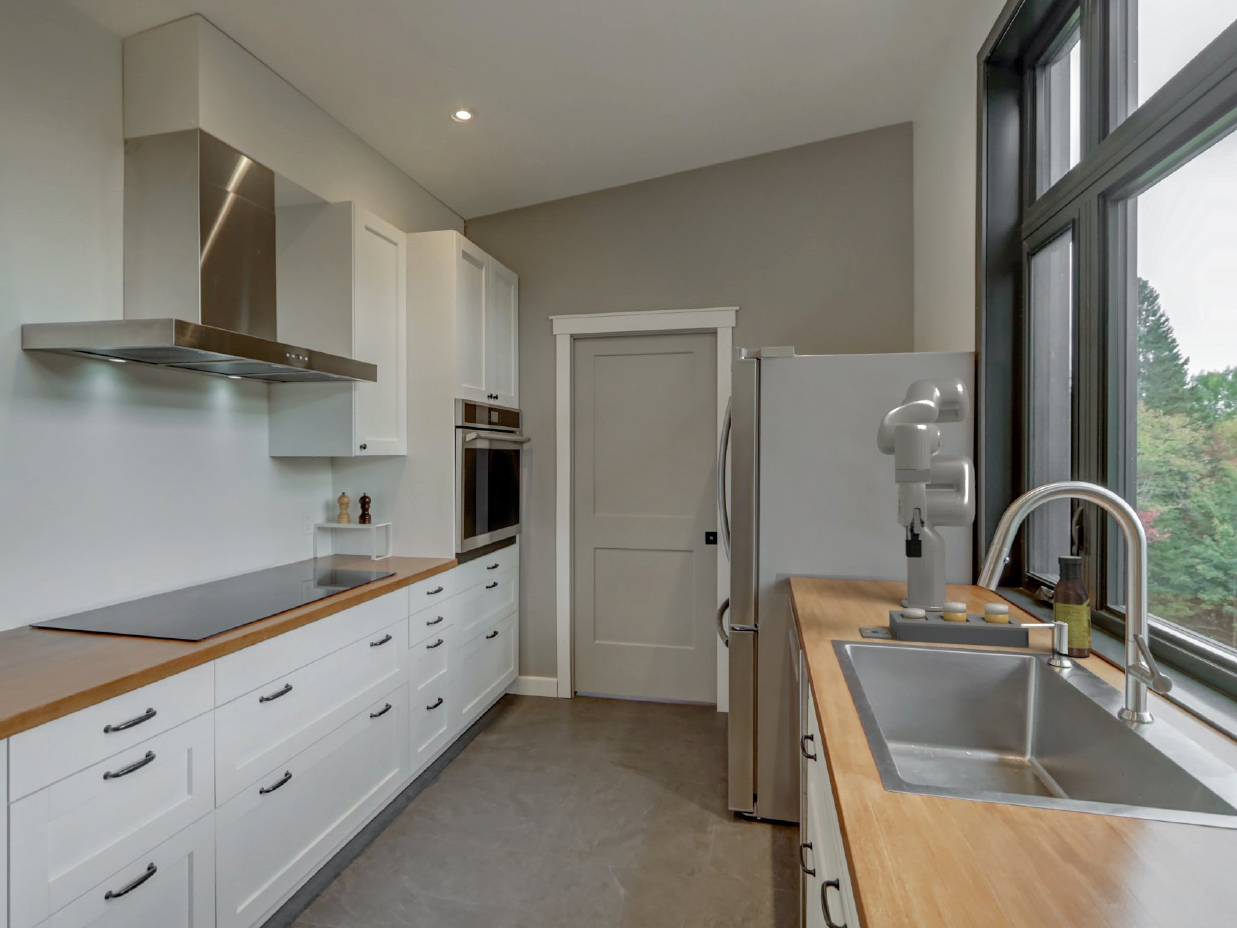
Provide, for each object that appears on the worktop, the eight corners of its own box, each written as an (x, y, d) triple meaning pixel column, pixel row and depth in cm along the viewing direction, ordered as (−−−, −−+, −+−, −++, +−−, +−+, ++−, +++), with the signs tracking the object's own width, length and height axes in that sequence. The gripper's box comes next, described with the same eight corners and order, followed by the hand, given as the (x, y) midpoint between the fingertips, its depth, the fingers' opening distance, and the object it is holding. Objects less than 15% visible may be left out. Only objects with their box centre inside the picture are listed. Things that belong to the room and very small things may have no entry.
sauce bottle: (1097, 659, 131) (1096, 559, 131) (1062, 657, 133) (1061, 558, 133) (1081, 649, 138) (1080, 554, 138) (1048, 648, 139) (1047, 554, 139)
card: (859, 628, 157) (859, 626, 157) (886, 630, 155) (886, 627, 155) (863, 637, 149) (863, 635, 149) (891, 639, 148) (891, 636, 148)
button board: (889, 627, 158) (889, 610, 158) (1010, 633, 151) (1010, 615, 151) (897, 640, 146) (897, 622, 146) (1028, 647, 140) (1028, 628, 140)
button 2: (982, 626, 150) (982, 602, 150) (1004, 627, 148) (1004, 603, 148) (988, 631, 145) (987, 607, 145) (1011, 633, 144) (1011, 607, 144)
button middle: (941, 624, 152) (941, 601, 152) (963, 625, 151) (963, 601, 151) (946, 629, 147) (945, 605, 147) (968, 631, 146) (968, 606, 146)
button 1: (901, 630, 154) (901, 607, 154) (923, 631, 153) (922, 608, 153) (905, 635, 149) (904, 611, 149) (927, 636, 148) (926, 612, 148)
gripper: (890, 476, 159) (891, 551, 160) (900, 478, 145) (901, 562, 145) (923, 475, 157) (924, 552, 158) (937, 478, 143) (938, 562, 143)
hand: (913, 556), depth 151 cm, fingers closed
